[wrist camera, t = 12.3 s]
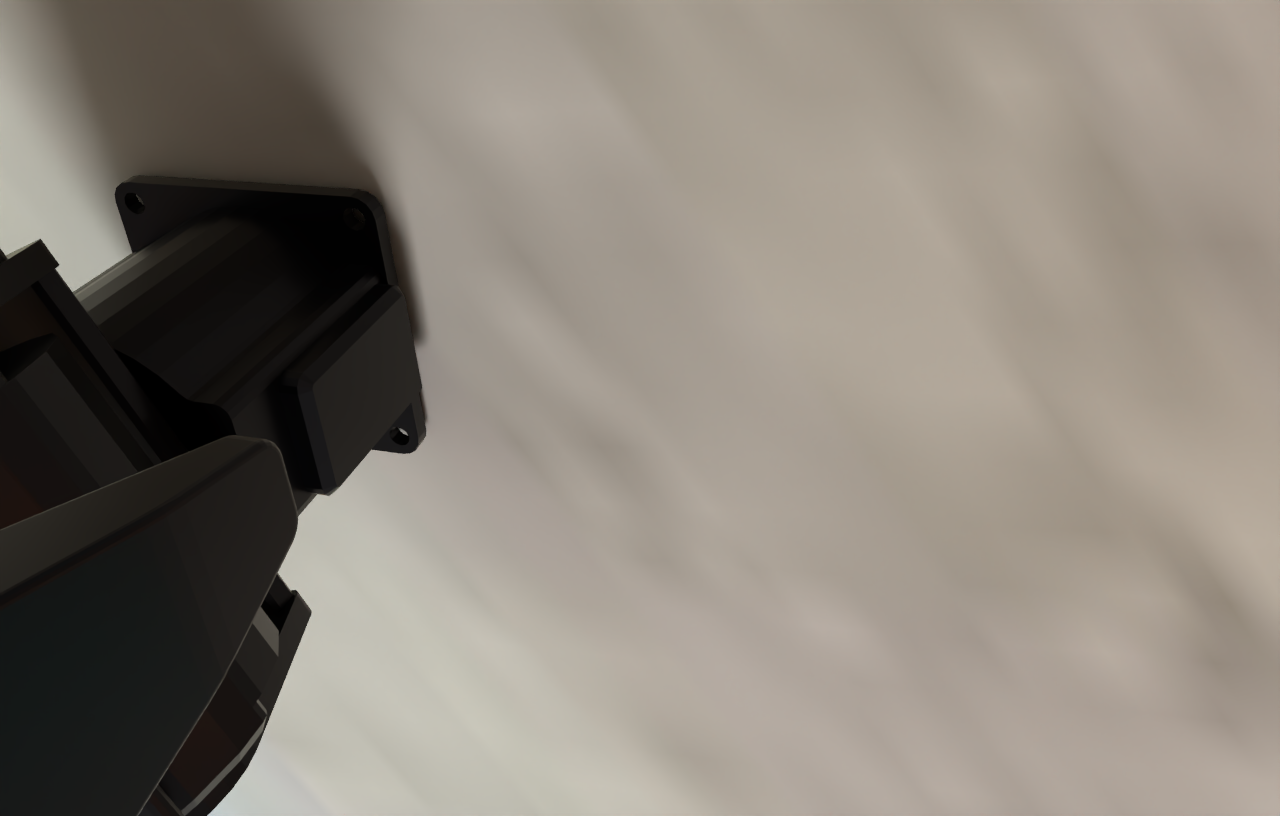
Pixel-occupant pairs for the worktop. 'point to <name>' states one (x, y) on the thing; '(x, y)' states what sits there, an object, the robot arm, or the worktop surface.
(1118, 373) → the worktop surface
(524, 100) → the worktop surface
